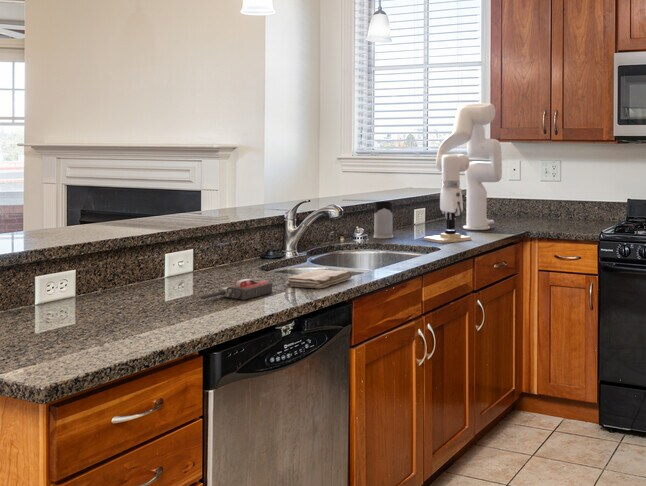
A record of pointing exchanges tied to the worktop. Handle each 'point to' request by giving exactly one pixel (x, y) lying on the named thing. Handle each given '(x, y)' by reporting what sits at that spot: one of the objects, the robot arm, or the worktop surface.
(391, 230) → the glass holder
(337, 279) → the washcloth
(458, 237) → the beige flat slab
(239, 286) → the walkie-talkie
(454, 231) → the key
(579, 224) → the worktop surface
